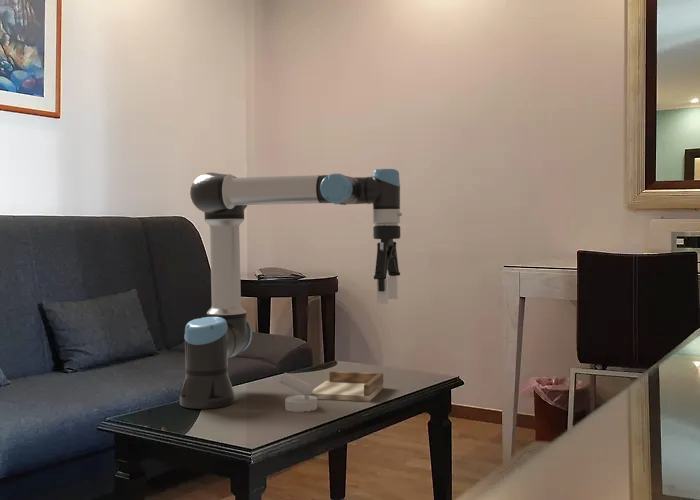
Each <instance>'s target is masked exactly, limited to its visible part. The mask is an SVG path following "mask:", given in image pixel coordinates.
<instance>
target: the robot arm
mask: <svg viewBox="0 0 700 500" xmlns="http://www.w3.org/2000/svg"><path fill="white" fill-rule="evenodd" d="M189 195H190V199H191V201H192V204H193V205H194V206H195V207H196V209H198V210H199V211H201V212H204V222H206V224H208V226H209V231H210V232H209V236H210V237H209V239H210V240H209V241H210V243H209V244H210V283H211V284H210V285H211V307H210V308H209V309H208V310H207V312H206V316H205V317H201V318H194V319H192V320H190V321H188V322H187V323H186V325H185V328H184V338H183V339H184V355H185V356H184V357H185V359H184V360H185V362H184V363H185V378H184V381H183V384H182V387H181V391H180V394H179V405H180V407H183V408H187V409H198V410H201V409H202V410H203V409H204V410H205V409H217V408H223V407H227V406H229V405H230V406H231V405H233V404H234V403H235V401H236V400H235V399H236V397H235V391H234V387H233V384H232V382H231V379H230V376H229V367H228V366H229V365H228V362H229V358H232V357H236V356H239V355H240V354H241V353H243V352H244V351H246V349H247V348H249V346H250V344H251V342H252V339H253V330H252V326H251V323H250V322H249V321H248V320H247V311H246V309H244V307H243V306H242V296H241V295H242V293H241V292H242V291H241V288H242V287H241V249H240V248H241V246H240V245H241V244H240V226H241V224H242V223H243V222H244V221H245V209H246V208H247V207H248V206H257V205H260V206H261V205H263V206H264V205H265V206H266V205H267V206H268V205H269V206H270V205H303V204H307V205H308V204H310V205H311V204H333V205H341V206H346V205H361V204H362V205H371V204H372V215H373V216H372V223H373V224H375V225H374V226H373V228H372V229H373V234H372V235H373V236H372V237H373V239H374V240H380V242H377V244H376V245H377V248H376V249H377V250H376V259H375V270H374V275H373V279H374V280H376V304H378V305H379V304H381V305H382V304H383V305H385V304H389V303H388V302H389V301H388V300H390V299H392V300H394V299H395V300H397V299H398V295H399V294H398V293H399V292H398V276H399V277H400V276H401V272H400V269H399V262H398V252H397V241H394V240H399V239H400V238H401V226H400V225H399V224H400V223H401V217H402V216H403V213H402V212H400V211H401V210H400V209H401V182H400V172H399V171H398V170H397V169H394V168H377V169H373V170H372V175H371V176H366V177H365V176H364V177H362V176H361V177H359V176H358V177H356V176H355V177H353V176H347V175H344V174H342V173H331V174H323V175H322V174H321V175H320V174H319V175H318V174H316V175H314V174H313V175H288V176H286V175H285V176H282V175H281V176H279V175H278V176H253V177H250V176H249V177H248V176H247V177H237V176H235V175H232V174H230V173H229V174H228V173H227V174H225V173H218V172H204V173H202V174H200V175H199V176H197V177H196V178H195V179H194V181H192V183H191V186H190V191H189Z"/></svg>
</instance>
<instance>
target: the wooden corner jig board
mask: <svg viewBox="0 0 700 500" xmlns="http://www.w3.org/2000/svg"><path fill="white" fill-rule="evenodd" d="M328 375H329V380H325V381H324V382H322V383H321V384H319V385H318V386H316V387H315V388H313V392H312V394H310V395H309V396H314V397H316V398H317V400H327V401H328V400H329V401H331V400H332V401H333V400H334V401H350V400H351V401H352V402H371V401H372V400H373V398H375V397H376V396H377V395H378V393H380V392H381V391H382V390H384V373H383V372H363V371H360V372H359V371H340V370H339V371H338V370H337V371H335V370H334V371H332V370H330V371H329V374H328ZM351 401H350V402H351Z"/></svg>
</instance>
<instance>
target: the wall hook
mask: <svg viewBox="0 0 700 500" xmlns="http://www.w3.org/2000/svg"><path fill="white" fill-rule="evenodd" d="M279 383H280V384H281V385H284V386H287V387H289V388H290V389H292V390H295V391H296V392H299V393H301V395H293V396H292V395H291V396H287V397H285V400H284V404H285V405H284V407H285V409H284V410H285V411H288V412H292V411H293V412H294V413H304V411H307V412H311V410H312V411H315V410H317V409H318V399H317V398H316V397H314V396H309V395H310V394H312V392H313V389H314V388H313V386H312V384H310V383H308V382H306V381H304V380H302V379H299V378H297V376H293V375H291V374H289V373H287V372H284V373H283V374H282V376H281V377H280V380H279Z"/></svg>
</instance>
